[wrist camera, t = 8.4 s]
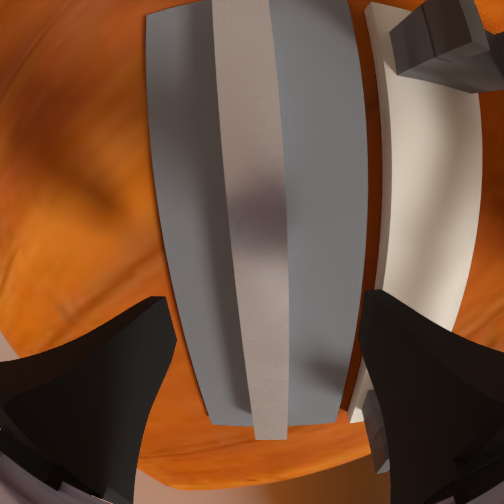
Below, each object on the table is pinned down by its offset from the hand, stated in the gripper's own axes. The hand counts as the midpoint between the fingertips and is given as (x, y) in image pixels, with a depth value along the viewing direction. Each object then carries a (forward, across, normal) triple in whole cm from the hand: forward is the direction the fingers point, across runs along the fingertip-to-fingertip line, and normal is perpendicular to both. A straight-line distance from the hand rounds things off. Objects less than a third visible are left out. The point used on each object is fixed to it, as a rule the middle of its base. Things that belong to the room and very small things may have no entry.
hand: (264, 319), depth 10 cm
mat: (+5, 0, 0) cm, 5 cm away
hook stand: (+5, -9, 0) cm, 10 cm away
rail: (+4, 0, 0) cm, 4 cm away
